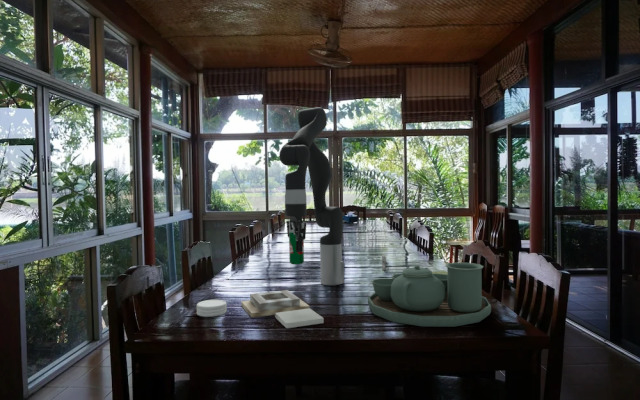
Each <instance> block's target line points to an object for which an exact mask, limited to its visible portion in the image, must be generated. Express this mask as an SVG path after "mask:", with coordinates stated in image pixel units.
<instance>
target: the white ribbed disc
mask: <svg viewBox="0 0 640 400" xmlns="http://www.w3.org/2000/svg"><path fill="white" fill-rule="evenodd" d="M195 307H196V315H197V316H199V317H204V318H209V317H212V318H213V317H219V316H222V315H224V314H226V313H227V311H228V309H227V302H226V300H223V299H206V300H202V301H199V302H197V304H196V306H195Z"/></svg>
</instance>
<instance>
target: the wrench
mask: <svg viewBox="0 0 640 400" xmlns="http://www.w3.org/2000/svg"><path fill="white" fill-rule="evenodd" d="M381 266H382V269H381V270H382V271H387V270H386V269H387V268H386V267H387V257H386V254H382V255H381Z"/></svg>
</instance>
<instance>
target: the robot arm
mask: <svg viewBox="0 0 640 400" xmlns="http://www.w3.org/2000/svg"><path fill="white" fill-rule="evenodd" d="M297 121H298V126H299V130H297V132H295V135H294V136H293V138H292V139H291V140H289V141H287V142H286V143H285V144H284V145H283V146H281V149H280V151H279V153H278V155H279V160H280V162H281V164H282V165H284V166H287V167H289V166H290V167H291V166H293V167H294V166H298V167H297V169H296V170H295V171H291V172H287V173H286V174H285V179H284V182H285V183H284V184H285V190H284V191H285V192H284V193H285V194H284V215H285V217H289V220H287V221H286V231H287V238H289V232H290V229H292V230H293V234H294V235H295V238H296V252H302V251H303V240H306V233H307V223H306V222H303V217H306V216H307V213H308V212H307V192H306V191H307V190H306V177H307V171H308V174H309V179H310V184H311V190H312V195H313V196H312V197H313V206H314V209H313V210H314V216H315V222H316V223H317V226H318V227H319V228H324V229H325V228H327V229H329V232H328V233H327V234H325V235H322V236H320V238H319V246H320V247H319V253H320V255H319V256H320V264H319V265H320V284H322V285H324V286H337V285H341V284H344V283H345V272H344V271H345V270H344V266H345V264H344V260H343V256H342V254H343V253H342V251H343V250H342V239H343V230H344V229H343V228H344V227H343V226H344V225H343V224H344V214H343V211H342V208H340V207H339V206H327V202H326V194H327V190H328V188H329V185H330V183H331V180H332V168H331V163H330V160H329V158H328V157H327V155H326V154H325V153H324V152H323V151H322V150H321V149H320V147H318V145H317V144H316V142H315V139H316V138H317V137H318V136H319V135H320V134H321V133H322V132H323V131H324V130H325V128H326V126H327V121H328V119H327V113H326V110H325V109H324V108H323V107H318V106H317V107H312V108H311V107H310V108H306V109H300V110H299V111H298V113H297ZM296 231H298V232H296ZM300 235H301V236H300Z"/></svg>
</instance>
